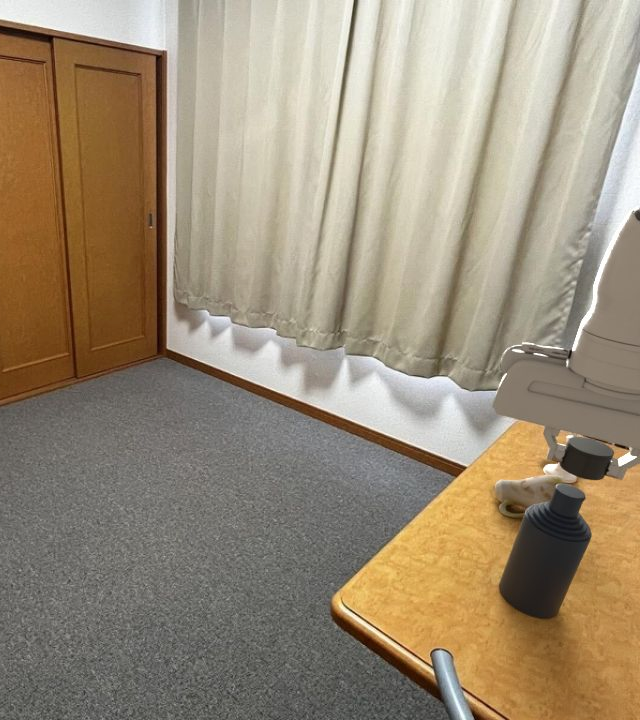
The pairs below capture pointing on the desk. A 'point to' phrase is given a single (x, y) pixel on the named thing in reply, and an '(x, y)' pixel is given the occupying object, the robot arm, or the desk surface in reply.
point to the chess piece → (560, 469)
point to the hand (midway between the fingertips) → (582, 467)
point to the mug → (525, 492)
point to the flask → (546, 554)
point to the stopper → (586, 458)
